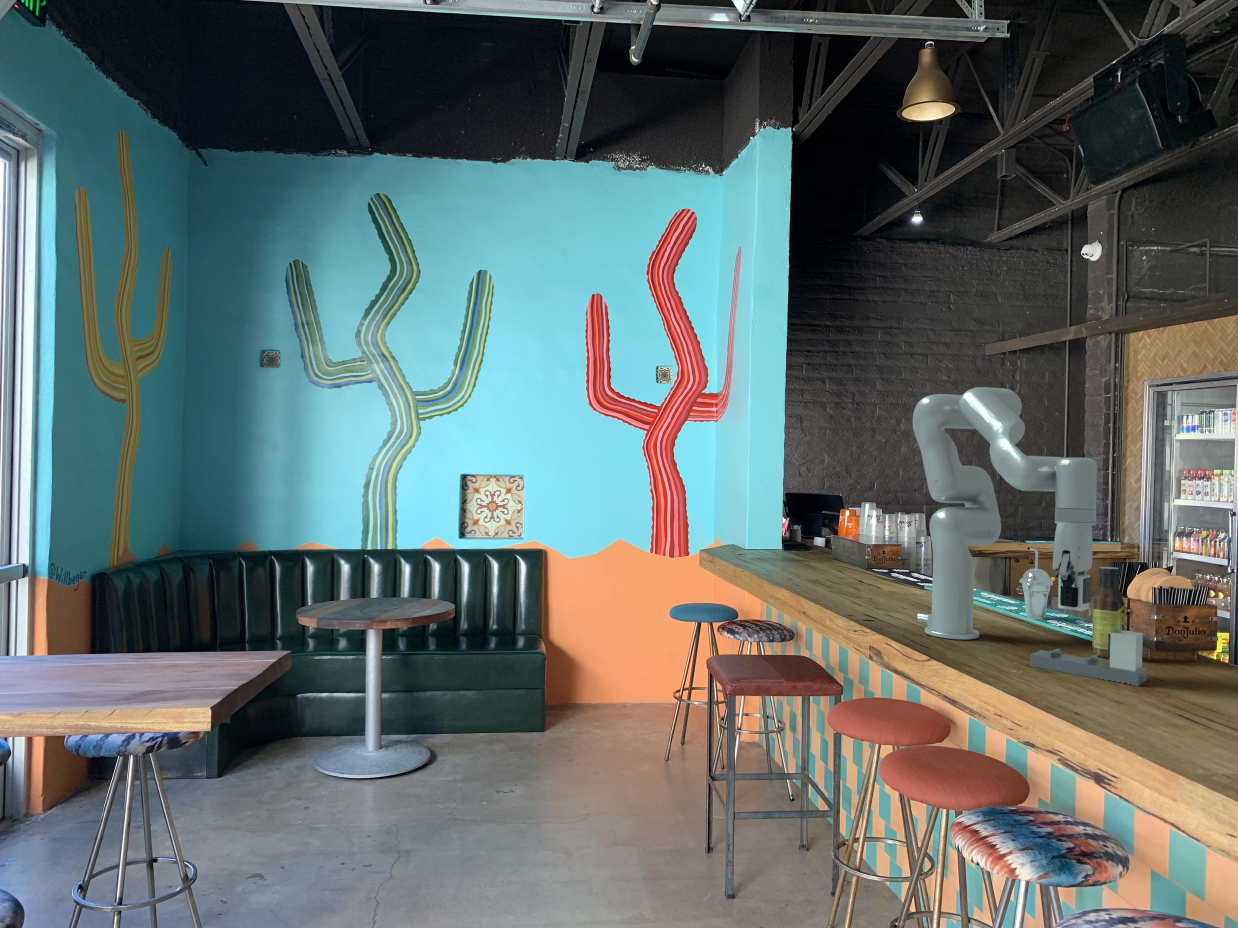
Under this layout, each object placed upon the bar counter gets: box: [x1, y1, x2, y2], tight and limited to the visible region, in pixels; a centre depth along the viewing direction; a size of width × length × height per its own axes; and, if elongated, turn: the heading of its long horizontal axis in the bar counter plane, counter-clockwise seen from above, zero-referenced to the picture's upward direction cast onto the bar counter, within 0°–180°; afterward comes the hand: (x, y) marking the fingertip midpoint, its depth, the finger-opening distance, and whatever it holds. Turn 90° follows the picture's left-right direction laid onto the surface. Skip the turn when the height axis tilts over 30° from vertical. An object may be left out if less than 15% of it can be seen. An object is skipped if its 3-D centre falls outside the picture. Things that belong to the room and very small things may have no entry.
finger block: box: [1057, 574, 1092, 612], centre depth 174 cm, size 5×4×7 cm
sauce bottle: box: [1092, 566, 1126, 659], centre depth 188 cm, size 7×6×20 cm
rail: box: [1029, 630, 1148, 687], centre depth 172 cm, size 20×6×10 cm, turn 44°
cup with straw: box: [1018, 547, 1054, 621], centre depth 232 cm, size 8×9×20 cm
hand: (1073, 603), depth 174 cm, fingers closed on finger block, 4 cm apart
